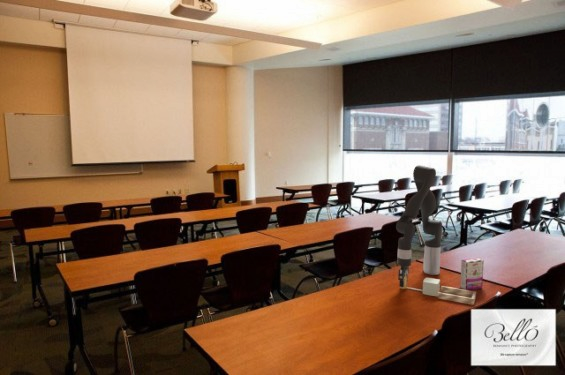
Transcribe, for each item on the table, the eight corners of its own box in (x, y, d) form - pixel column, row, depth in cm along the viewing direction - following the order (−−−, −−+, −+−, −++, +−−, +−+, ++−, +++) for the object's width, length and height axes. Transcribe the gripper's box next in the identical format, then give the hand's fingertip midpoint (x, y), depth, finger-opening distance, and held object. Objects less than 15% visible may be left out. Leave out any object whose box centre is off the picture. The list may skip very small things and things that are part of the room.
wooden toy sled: (437, 298, 215) (438, 292, 215) (441, 290, 225) (441, 285, 224) (473, 304, 207) (473, 299, 206) (475, 297, 216) (476, 291, 216)
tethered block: (398, 289, 227) (398, 277, 226) (401, 285, 234) (402, 273, 233) (437, 296, 217) (437, 284, 216) (439, 291, 224) (440, 279, 223)
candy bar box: (476, 285, 233) (477, 257, 231) (482, 288, 228) (484, 260, 226) (459, 287, 230) (461, 259, 228) (465, 290, 225) (467, 262, 223)
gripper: (408, 261, 219) (407, 289, 221) (414, 254, 231) (413, 281, 234) (394, 258, 223) (393, 287, 225) (400, 252, 235) (399, 279, 237)
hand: (403, 284), depth 229 cm, fingers open, 8 cm apart
